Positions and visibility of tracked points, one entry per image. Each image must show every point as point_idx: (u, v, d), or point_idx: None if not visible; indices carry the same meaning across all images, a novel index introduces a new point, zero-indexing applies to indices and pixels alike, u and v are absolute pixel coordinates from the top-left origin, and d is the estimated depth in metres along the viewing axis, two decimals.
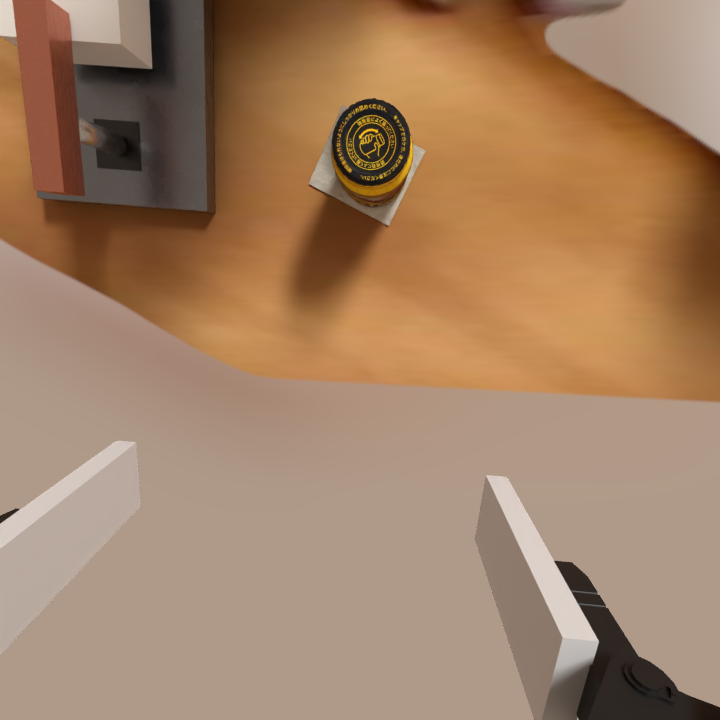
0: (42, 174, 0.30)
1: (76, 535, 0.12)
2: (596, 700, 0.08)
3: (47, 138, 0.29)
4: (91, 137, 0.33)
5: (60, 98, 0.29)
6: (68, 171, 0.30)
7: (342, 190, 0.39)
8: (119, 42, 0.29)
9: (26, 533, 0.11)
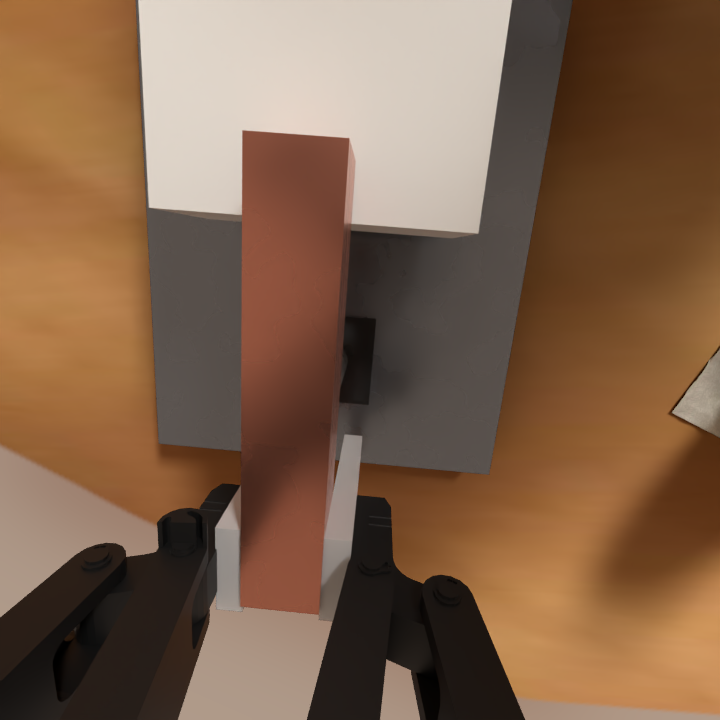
0: (266, 576, 0.11)
1: None
2: (340, 596, 0.09)
3: (292, 501, 0.11)
4: None
5: (334, 397, 0.10)
6: None
7: None
8: (474, 229, 0.11)
9: None
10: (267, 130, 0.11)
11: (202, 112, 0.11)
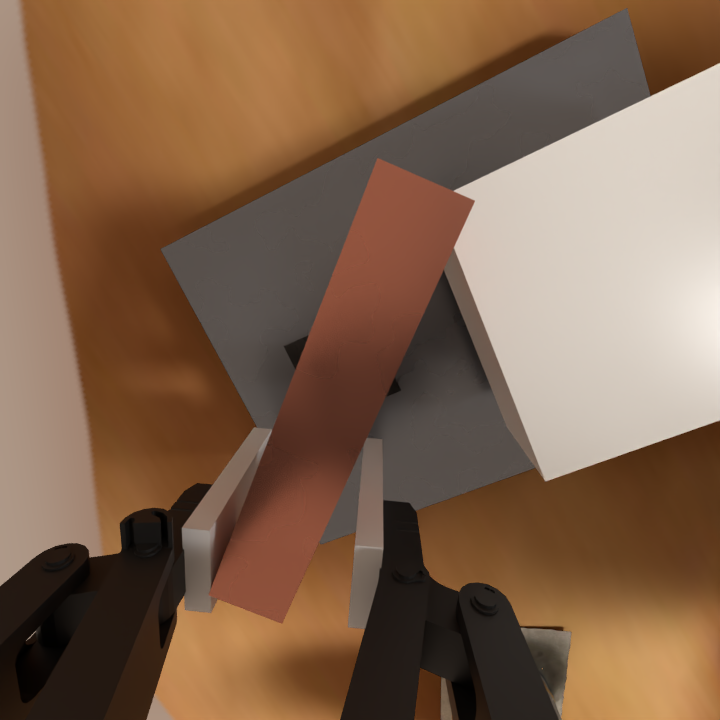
0: (244, 574, 0.11)
1: None
2: (373, 602, 0.09)
3: (296, 513, 0.11)
4: None
5: None
6: None
7: None
8: (547, 477, 0.13)
9: (230, 500, 0.13)
10: (553, 279, 0.11)
11: (543, 214, 0.11)
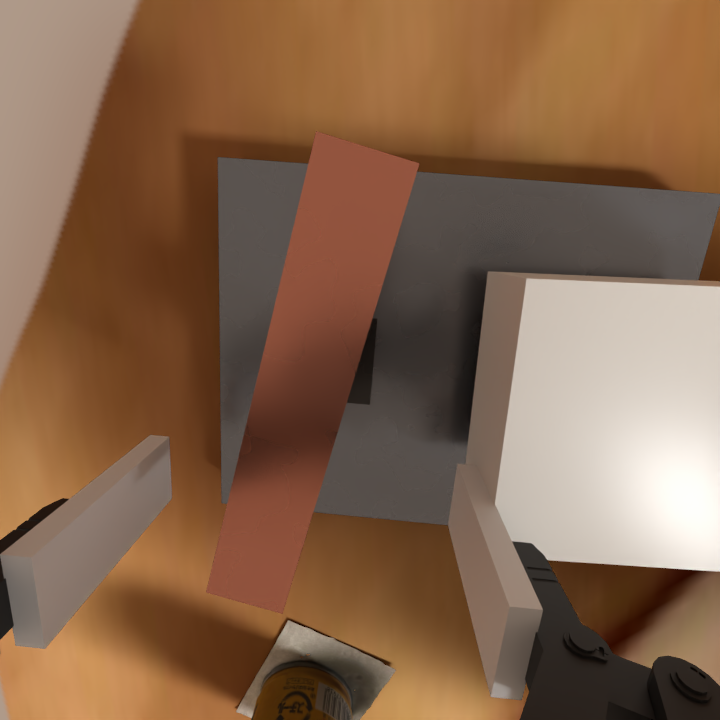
0: (239, 568, 0.11)
1: (119, 524, 0.13)
2: (539, 666, 0.08)
3: (282, 500, 0.11)
4: None
5: None
6: None
7: (281, 659, 0.26)
8: None
9: (79, 520, 0.11)
10: (584, 394, 0.12)
11: (606, 337, 0.12)
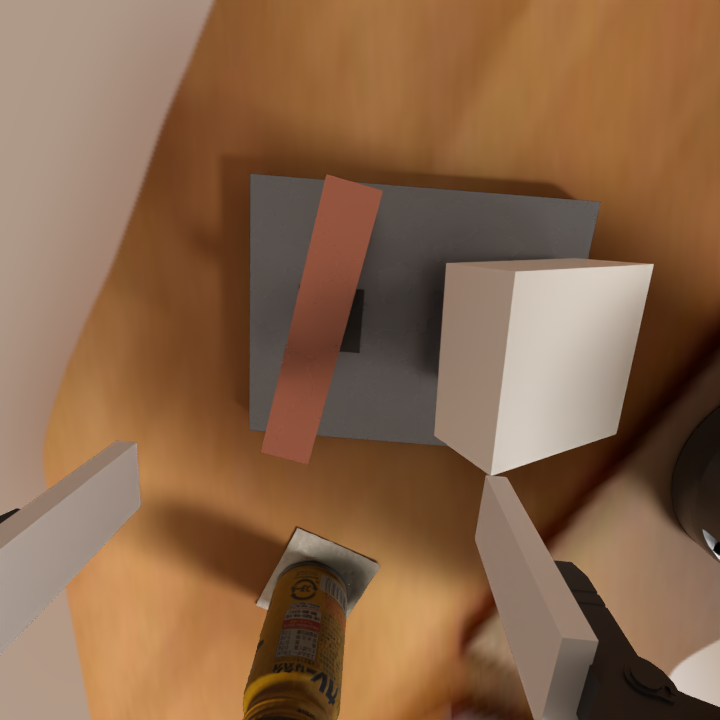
0: (281, 435, 0.18)
1: (77, 535, 0.12)
2: (596, 700, 0.08)
3: (308, 390, 0.18)
4: None
5: None
6: None
7: (292, 561, 0.33)
8: (492, 473, 0.19)
9: (27, 533, 0.11)
10: (542, 346, 0.18)
11: (553, 306, 0.17)
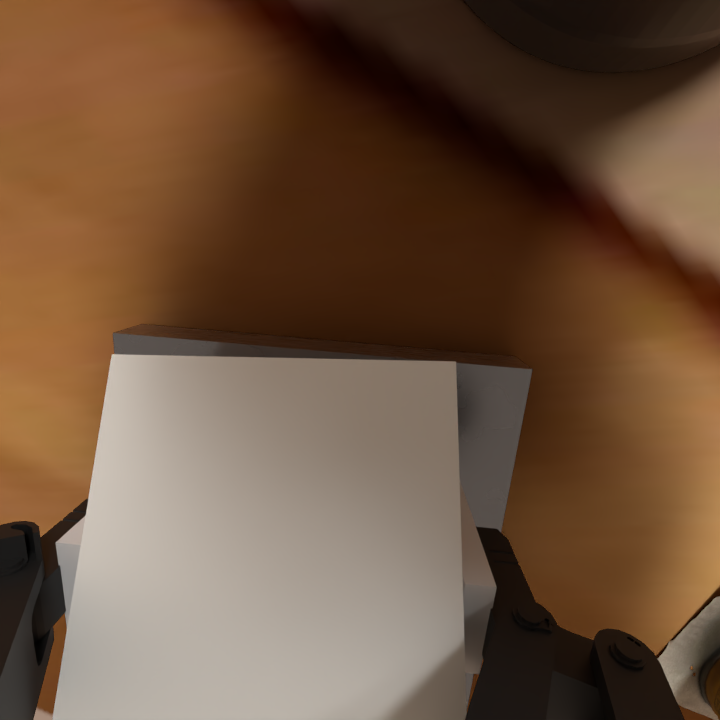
0: None
1: None
2: (491, 642, 0.09)
3: None
4: None
5: None
6: None
7: (694, 694, 0.21)
8: None
9: None
10: (207, 655, 0.09)
11: (133, 638, 0.09)
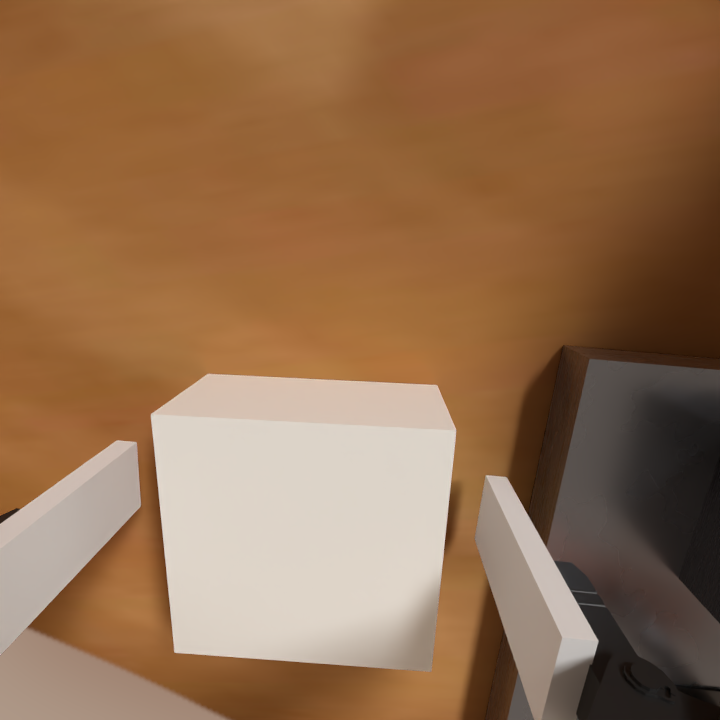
0: None
1: (76, 535, 0.12)
2: (595, 700, 0.08)
3: None
4: None
5: None
6: None
7: None
8: (428, 669, 0.14)
9: (27, 533, 0.11)
10: (264, 609, 0.14)
11: (213, 599, 0.14)
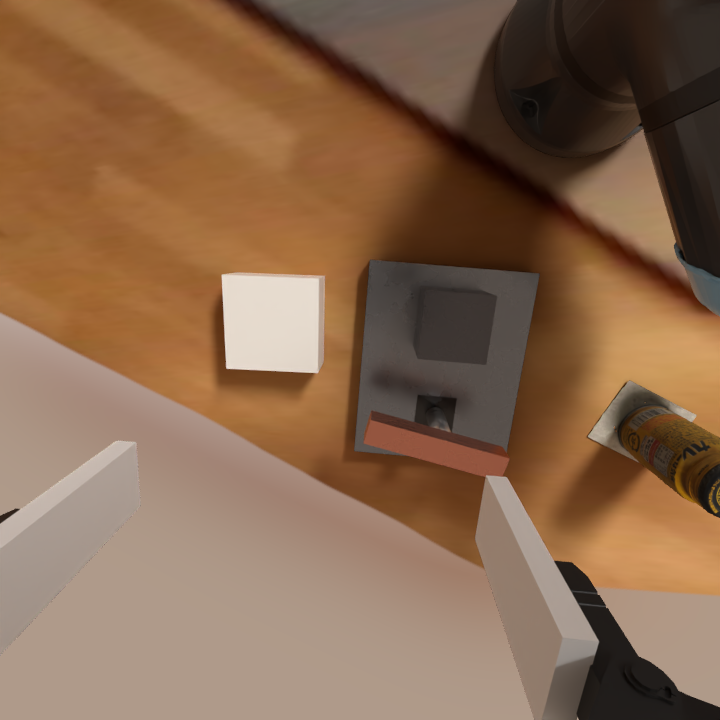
0: (491, 470, 0.35)
1: (76, 535, 0.12)
2: (596, 700, 0.08)
3: (466, 456, 0.34)
4: (448, 427, 0.38)
5: (437, 435, 0.35)
6: (490, 450, 0.35)
7: (616, 442, 0.45)
8: (316, 372, 0.40)
9: (26, 533, 0.11)
10: (258, 348, 0.40)
11: (240, 345, 0.40)
